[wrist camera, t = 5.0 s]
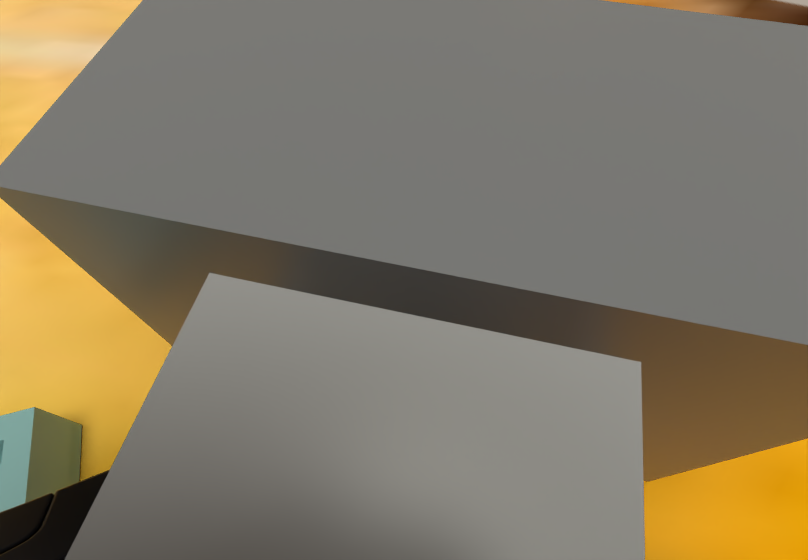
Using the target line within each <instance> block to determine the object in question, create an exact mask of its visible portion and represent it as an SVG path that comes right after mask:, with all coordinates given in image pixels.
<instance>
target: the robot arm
mask: <svg viewBox="0 0 808 560" xmlns="http://www.w3.org/2000/svg"><path fill="white" fill-rule="evenodd" d="M109 471H110V470H108V471H105V472H103V473H100V474H97V475H95V476H92V477H90V478H87V479H85V480H82V481H80V482H77V483H75V484H72V485H69V486H67V487H64V488H62V489H59V490H57V491H56V492H55V494H53V493H49V494H46V495H44V496H41V497H39V498H36V499H34V500H31V501H29V502H26V503H24V504H21V505H18V506H16V507H13V508H10V509H8V510H5V511H2V512H0V560H65V558H66V556H67V554H68V552H69V550H70V548H71V546H72V544H73V542H74V540H75V538H76V536H77V534H78V532H79V530H80V528H81V526H82V524H83V522H84V520H85V518H86V516H87V514H88V512H89V510H90V508H91V506H92V504H93V502H94V500H95V498H96V497H97V495H98V493H99V491H100V489H101V487H102V485H103V483H104V481H105V479H106V477H107V475H108V473H109Z"/></svg>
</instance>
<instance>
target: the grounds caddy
mask: <svg viewBox="0 0 808 560" xmlns="http://www.w3.org/2000/svg"><path fill="white" fill-rule="evenodd" d="M65 560H645V536H644V485H643V433H642V381H641V362H638V361H633V360H628V359H624V358H619V357H614V356H609V355H604V354H599V353H595V352H590V351H585V350H580V349H575V348H570V347H566V346H561V345H556V344H551V343H546V342H541V341H537V340H532V339H527V338H522V337H517V336H512V335H508V334H503V333H498V332H493V331H488V330H483V329H479V328H474V327H469V326H464V325H459V324H454V323H450V322H445V321H440V320H435V319H430V318H425V317H421V316H416V315H411V314H406V313H401V312H396V311H392V310H387V309H382V308H377V307H372V306H367V305H363V304H358V303H353V302H348V301H343V300H338V299H334V298H329V297H324V296H319V295H314V294H309V293H305V292H300V291H295V290H290V289H285V288H281V287H276V286H271V285H266V284H261V283H256V282H252V281H247V280H242V279H237V278H232V277H227V276H223V275H218V274H213V273H209V275H208V277H207V279H206V281H205V283H204V285H203V287H202V288H201V290H200V292H199V294H198V296H197V298H196V300H195V302H194V304H193V306H192V308H191V310H190V312H189V314H188V316H187V318H186V320H185V322H184V324H183V326H182V328H181V330H180V332H179V334H178V336H177V338H176V340H175V342H174V344H173V346H172V348H171V350H170V352H169V354H168V356H167V358H166V360H165V362H164V364H163V366H162V368H161V370H160V372H159V374H158V376H157V378H156V380H155V382H154V384H153V386H152V388H151V390H150V392H149V393H148V395H147V397H146V399H145V401H144V403H143V405H142V407H141V409H140V411H139V413H138V415H137V417H136V419H135V421H134V423H133V425H132V427H131V429H130V431H129V433H128V435H127V437H126V439H125V441H124V443H123V445H122V447H121V449H120V451H119V453H118V455H117V457H116V459H115V461H114V463H113V465H112V467H111V469H110V471H109V473H108V475H107V477H106V479H105V481H104V483H103V485H102V487H101V489H100V491H99V493H98V495H97V497H96V498H95V500H94V502H93V504H92V506H91V508H90V510H89V512H88V514H87V516H86V518H85V520H84V522H83V524H82V526H81V528H80V530H79V532H78V534H77V536H76V538H75V540H74V542H73V544H72V546H71V548H70V550H69V552H68V554H67V556H66V558H65Z"/></svg>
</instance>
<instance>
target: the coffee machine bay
mask: <svg viewBox="0 0 808 560" xmlns="http://www.w3.org/2000/svg"><path fill="white" fill-rule="evenodd" d="M0 198H1V199H2V200H4V201H5V202H6V203H7V204H8V205H9V206H11V207H12V208H13V209H14V210H15V211H16V212H18V213H19V214H20V215H21V216H22V217H23V218H25V219H26V220H27V221H28V222H29V223H30V224H31V225H33V226H34V227H35V228H36V229H37V230H38V231H40V232H41V233H42V234H43V235H44V236H45V237H47V238H48V239H49V240H50V241H51V242H52V243H54V244H55V245H56V246H57V247H58V248H59V249H60V250H62V251H63V252H64V253H65V254H66V255H67V256H69V257H70V258H71V259H72V260H73V261H74V262H76V263H77V264H78V265H79V266H80V267H81V268H83V269H84V270H85V271H86V272H87V273H88V274H89V275H91V276H92V277H93V278H94V279H95V280H96V281H98V282H99V283H100V284H101V285H102V286H103V287H105V288H106V289H107V290H108V291H109V292H110V293H112V294H113V295H114V296H115V297H116V298H117V299H118V300H120V301H121V302H122V303H123V304H124V305H125V306H127V307H128V308H129V309H130V310H131V311H132V312H134V313H135V314H136V315H137V316H138V317H139V318H141V319H142V320H143V321H144V322H145V323H146V324H147V325H149V326H150V327H151V328H152V329H153V330H154V331H156V332H157V333H158V334H159V335H160V336H161V337H163V338H164V339H165V340H166V341H167V342H168V343H169V344H171V345H172V346H173V344H174V342H175V340H176V338H177V336H178V334H179V332H180V330H181V328H182V326H183V324H184V322H185V320H186V318H187V316H188V314H189V312H190V310H191V308H192V306H193V304H194V302H195V300H196V298H197V296H198V294H199V292H200V290H201V288H202V287H203V285H204V283H205V281H206V279H207V277H208V275H209V273H213V274H218V275H223V276H227V277H232V278H237V279H242V280H247V281H252V282H256V283H261V284H266V285H271V286H276V287H281V288H285V289H290V290H295V291H300V292H305V293H309V294H314V295H319V296H324V297H329V298H334V299H338V300H343V301H348V302H353V303H358V304H363V305H367V306H372V307H377V308H382V309H387V310H392V311H396V312H401V313H406V314H411V315H416V316H421V317H425V318H430V319H435V320H440V321H445V322H450V323H454V324H459V325H464V326H469V327H474V328H479V329H483V330H488V331H493V332H498V333H503V334H508V335H512V336H517V337H522V338H527V339H532V340H537V341H541V342H546V343H551V344H556V345H561V346H566V347H570V348H575V349H580V350H585V351H590V352H595V353H599V354H604V355H609V356H614V357H619V358H624V359H628V360H633V361H638V362H641V381H642V433H643V480H644V481H652V480H656V479H659V478H663V477H667V476H671V475H674V474H678V473H682V472H685V471H689V470H693V469H696V468H700V467H704V466H707V465H711V464H715V463H718V462H722V461H726V460H730V459H733V458H737V457H741V456H744V455H748V454H752V453H755V452H759V451H763V450H766V449H770V448H774V447H777V446H781V445H785V444H789V443H792V442H796V441H800V440H803V439H807V438H808V26H803V25H795V24H787V23H779V22H771V21H762V20H754V19H746V18H738V17H730V16H722V15H714V14H706V13H698V12H690V11H682V10H674V9H666V8H658V7H650V6H642V5H634V4H626V3H618V2H610V1H602V0H143V1H142V2H141V3H140V4H139V5H138V7H137V8H136V9H135V10H134V11H133V12H132V14H131V15H130V16H129V17H128V18H127V19H126V21H125V22H124V23H123V24H122V25H121V26H120V27H119V29H118V30H117V31H116V32H115V33H114V34H113V36H112V37H111V38H110V39H109V40H108V41H107V43H106V44H105V45H104V46H103V47H102V48H101V49H100V51H99V52H98V53H97V54H96V55H95V56H94V58H93V59H92V60H91V61H90V62H89V63H88V64H87V66H86V67H85V68H84V69H83V70H82V71H81V73H80V74H79V75H78V76H77V77H76V78H75V80H74V81H73V82H72V83H71V84H70V85H69V86H68V88H67V89H66V90H65V91H64V92H63V93H62V95H61V96H60V97H59V98H58V99H57V100H56V102H55V103H54V104H53V105H52V106H51V107H50V108H49V110H48V111H47V112H46V113H45V114H44V115H43V117H42V118H41V119H40V120H39V121H38V122H37V124H36V125H35V126H34V127H33V128H32V129H31V130H30V132H29V133H28V134H27V135H26V136H25V137H24V139H23V140H22V141H21V142H20V143H19V144H18V145H17V147H16V148H15V149H14V150H13V151H12V152H11V154H10V155H9V156H8V157H7V158H6V159H5V161H4V162H3V163H2V164H1V165H0Z"/></svg>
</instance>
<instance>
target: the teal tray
mask: <svg viewBox="0 0 808 560" xmlns="http://www.w3.org/2000/svg"><path fill="white" fill-rule="evenodd" d="M81 436H82V425H81V424H78V423H75V422H73V421H70V420H67V419H65V418H62V417H59V416H57V415H54V414H52V413H49V412H46V411H44V410H41V409H38V408H36V407H33V408H29V409H25V410H22V411H18V412H14V413H10V414H6V415H2V416H0V512H2V511H5V510H8V509H10V508H13V507H16V506H18V505H21V504H24V503H26V502H29V501H31V500H34V499H36V498H39V497H41V496H44V495H46V494H49V493H53V494H55V492H56V491H57V490H59V489H62V488H64V487H67V486H69V485H72V484H75V483H77V482H79V478H80V457H81Z"/></svg>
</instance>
